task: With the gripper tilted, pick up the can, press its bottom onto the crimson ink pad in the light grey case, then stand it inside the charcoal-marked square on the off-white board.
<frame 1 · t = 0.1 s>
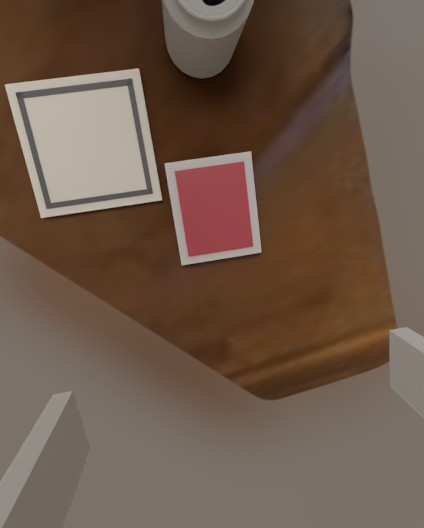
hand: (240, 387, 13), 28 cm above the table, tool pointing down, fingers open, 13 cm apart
can: (199, 44, 35), on the table
ink pad: (213, 209, 39), on the table
marked board: (90, 146, 36), on the table
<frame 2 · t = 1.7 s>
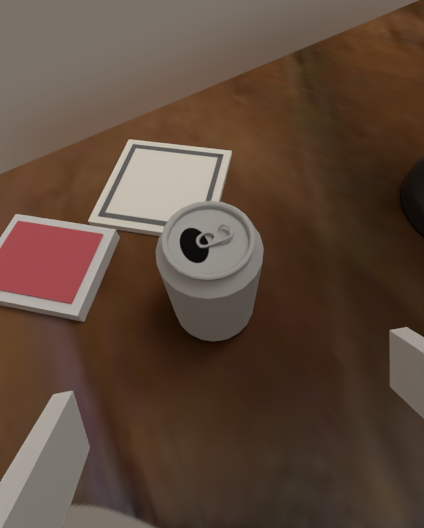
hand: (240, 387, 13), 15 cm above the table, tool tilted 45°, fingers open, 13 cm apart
can: (214, 306, 31), on the table
ink pad: (51, 267, 34), on the table
marked board: (165, 188, 39), on the table
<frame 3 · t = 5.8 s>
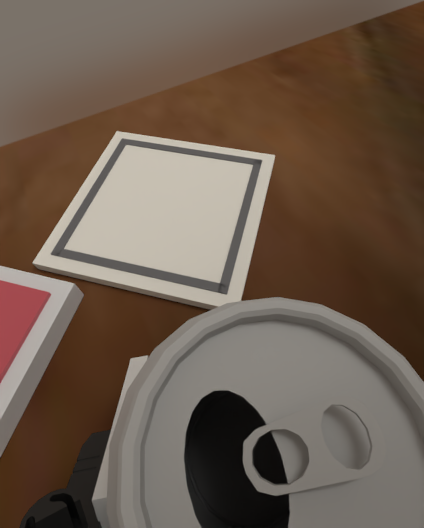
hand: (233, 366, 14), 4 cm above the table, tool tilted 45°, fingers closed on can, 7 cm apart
can: (246, 452, 16), on the table, touching gripper
marked board: (167, 210, 24), on the table
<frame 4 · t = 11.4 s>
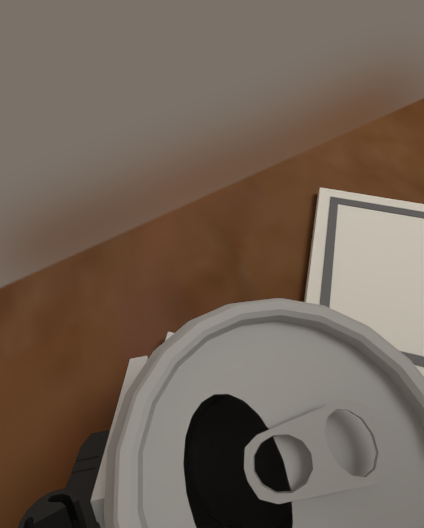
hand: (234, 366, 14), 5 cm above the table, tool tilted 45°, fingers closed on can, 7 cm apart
can: (247, 455, 16), point 2 cm above the table, touching gripper, ink pad
marked board: (409, 283, 22), on the table
when the fingers open (5 cm above the table, at t = 17.2 s): can drops 1 cm, resting on marked board.
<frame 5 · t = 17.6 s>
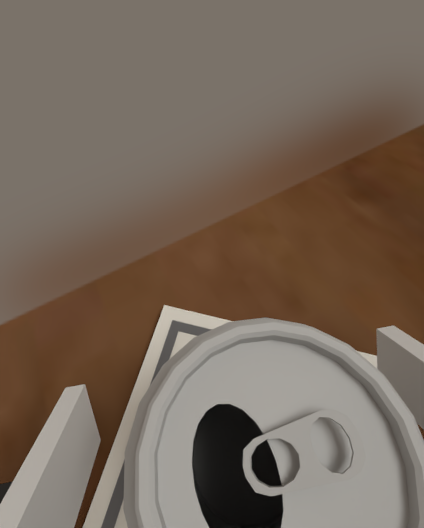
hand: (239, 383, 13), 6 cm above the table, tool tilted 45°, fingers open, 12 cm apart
can: (246, 456, 17), point 1 cm above the table, touching marked board
marked board: (244, 452, 17), on the table
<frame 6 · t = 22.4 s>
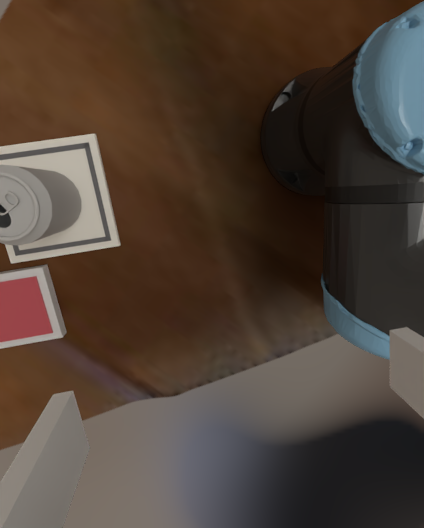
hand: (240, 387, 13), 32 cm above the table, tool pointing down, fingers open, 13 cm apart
can: (53, 201, 40), point 1 cm above the table, touching marked board
ink pad: (12, 306, 43), on the table
marked board: (53, 200, 40), on the table
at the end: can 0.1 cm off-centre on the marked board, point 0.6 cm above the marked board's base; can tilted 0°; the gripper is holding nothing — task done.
